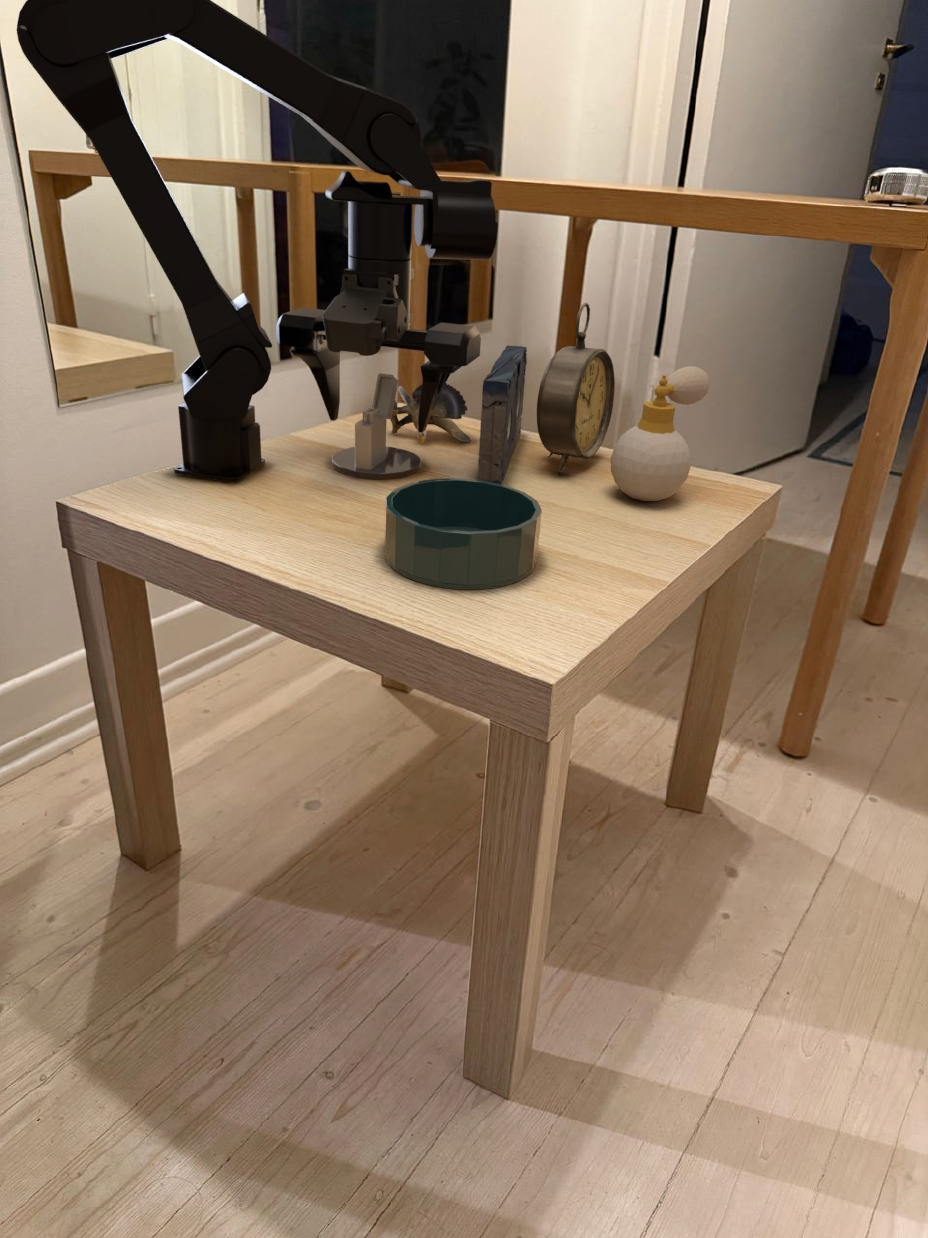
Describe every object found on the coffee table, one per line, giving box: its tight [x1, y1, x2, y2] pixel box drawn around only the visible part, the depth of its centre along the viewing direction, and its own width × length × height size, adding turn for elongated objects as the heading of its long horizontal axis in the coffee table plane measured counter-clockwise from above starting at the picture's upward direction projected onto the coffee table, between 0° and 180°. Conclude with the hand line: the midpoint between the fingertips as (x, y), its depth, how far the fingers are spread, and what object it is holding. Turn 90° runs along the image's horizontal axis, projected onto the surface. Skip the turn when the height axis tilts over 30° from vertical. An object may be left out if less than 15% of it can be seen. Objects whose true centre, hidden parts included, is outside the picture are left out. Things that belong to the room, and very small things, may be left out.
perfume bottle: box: [610, 365, 710, 502], centre depth 86 cm, size 8×10×12 cm
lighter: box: [354, 372, 399, 470], centre depth 90 cm, size 7×2×8 cm, turn 162°
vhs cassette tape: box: [477, 345, 528, 484], centre depth 94 cm, size 18×3×10 cm, turn 169°
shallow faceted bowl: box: [384, 477, 543, 590], centre depth 71 cm, size 12×12×4 cm
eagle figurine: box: [389, 382, 473, 445], centre depth 100 cm, size 8×7×9 cm
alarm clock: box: [536, 302, 616, 476], centre depth 92 cm, size 11×5×16 cm, turn 151°
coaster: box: [331, 445, 422, 480], centre depth 92 cm, size 9×9×1 cm
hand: (377, 425), depth 90 cm, fingers open, 9 cm apart
